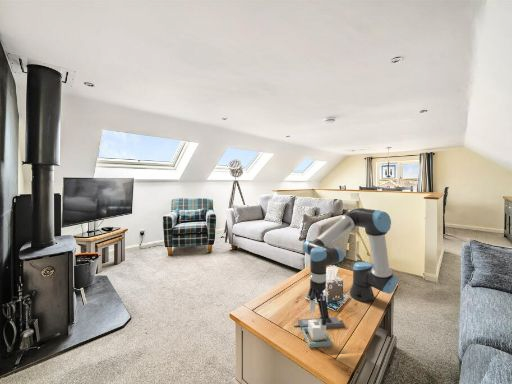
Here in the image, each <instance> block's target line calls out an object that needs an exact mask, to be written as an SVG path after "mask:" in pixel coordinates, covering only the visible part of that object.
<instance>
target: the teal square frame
mask: <svg viewBox="0 0 512 384" xmlns="http://www.w3.org/2000/svg"><path fill="white" fill-rule="evenodd" d="M307 332H308V327H305V328H302V330H301V333H302V334H303V335H302V336H304V339H305V341H306V343H307V345H308V347H309V348H310V349H311V348H320V347H321V348H322V347H331V346H333V345H332V343H333V342H332V340H331V338H330V337H329V335H328V333H327V332H326V331H325V340H327V341H312V342H310V340H309V337H308V335H307V334H306V333H307ZM308 333H309V332H308Z"/></svg>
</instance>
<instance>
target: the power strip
mask: <svg viewBox="0 0 512 384" xmlns="http://www.w3.org/2000/svg"><path fill="white" fill-rule="evenodd" d="M315 319H320V317H317V318H304V319H303V318H301V319H300V318H299V319H297V325H295V324H294V325H293V327H294V328H300V330H301V331H302V328H305V327H308V320H315ZM342 327H345V323H344V320H343V319H342V318H341V317H340V316H332V317H331V316H329V319H328V320H326V329H328V328H342Z"/></svg>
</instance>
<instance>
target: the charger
mask: <svg viewBox="0 0 512 384" xmlns="http://www.w3.org/2000/svg"><path fill="white" fill-rule="evenodd" d="M325 332H326V331H320V319H315V320H308V335H309V336H310V338H311V340H312V341H313V342H322V340H326V337H325Z"/></svg>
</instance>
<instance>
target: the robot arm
mask: <svg viewBox="0 0 512 384" xmlns="http://www.w3.org/2000/svg"><path fill="white" fill-rule="evenodd" d="M391 226H392V219H391V217H390V214H389V213H387V212H386V211H383V210H379V209H371V208H370V209H368V208H363V207H359V208H354V209H352V210H350V211H349V210H348V211H347V212H346V213H344V214H343V215H342V216H341V217H340V219H339V220H338V221H336V222H335V223H334V224H332V225H331V226H330V227H329V228H327V229H326V230H325V231H323V233H321V234H320V235H318V236H317V237H316V238H315V239H313V240H306V241H305V242H304V243H303V245H302V250H303V252H304V253H305V254H307V255H308V256H309V258H310V261H309V263H310V265H309V267H310V273H309V274H308V275H309V277H310V279H309V290H308V293H307V296H308V297H309V298H308V299H309V313H310V314H312V313H316V303H318V309H319V313H320V317H319V318H320V331H325V332H326V331H327V328H326V320H328V319H329V317H330V315H329V310H328V304H327V295H324V290H326V288H327V267H330V266H332V265H335V264H339V263H342V261H343V260H344V258H345V255H344V251H343V250H342V249H341V248H339V247H337V246H336V247H330V246H331V245H332V244H333V243H334V242H336V241H337V239H339V238H340V237H341V236H343V235H344V234H345V233H346V232H348V231H349V230H352V229H354V228H355V227H360V228H363V229H364V232H365V234H366V235H368V240H369V245H370V247H369V248H370V253H371V261H372V263H370V262H367V261H360V262H359V261H358V262H355V263H354V264H353V268H352V270H353V271H352V283H351V287H350V289H349V296H350V297H351V298H353V299H354V300H355V301H359V302H363V303H371V302H373V301H374V300H375V294H374V291H373V288H374V289H376V290H378V291H380V292H382V293H386V294H389V295H390V294H392V293H394V292H395V290H396V288H397V286H398V281H399V278H398V276H396V275H393V270H392V268H390V265H389V258H388V257H389V256H388V250H387V249H388V248H387V241H386V235H387V234H388V232H389V231H390V230H391ZM372 300H373V301H372ZM370 301H371V302H370Z"/></svg>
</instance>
